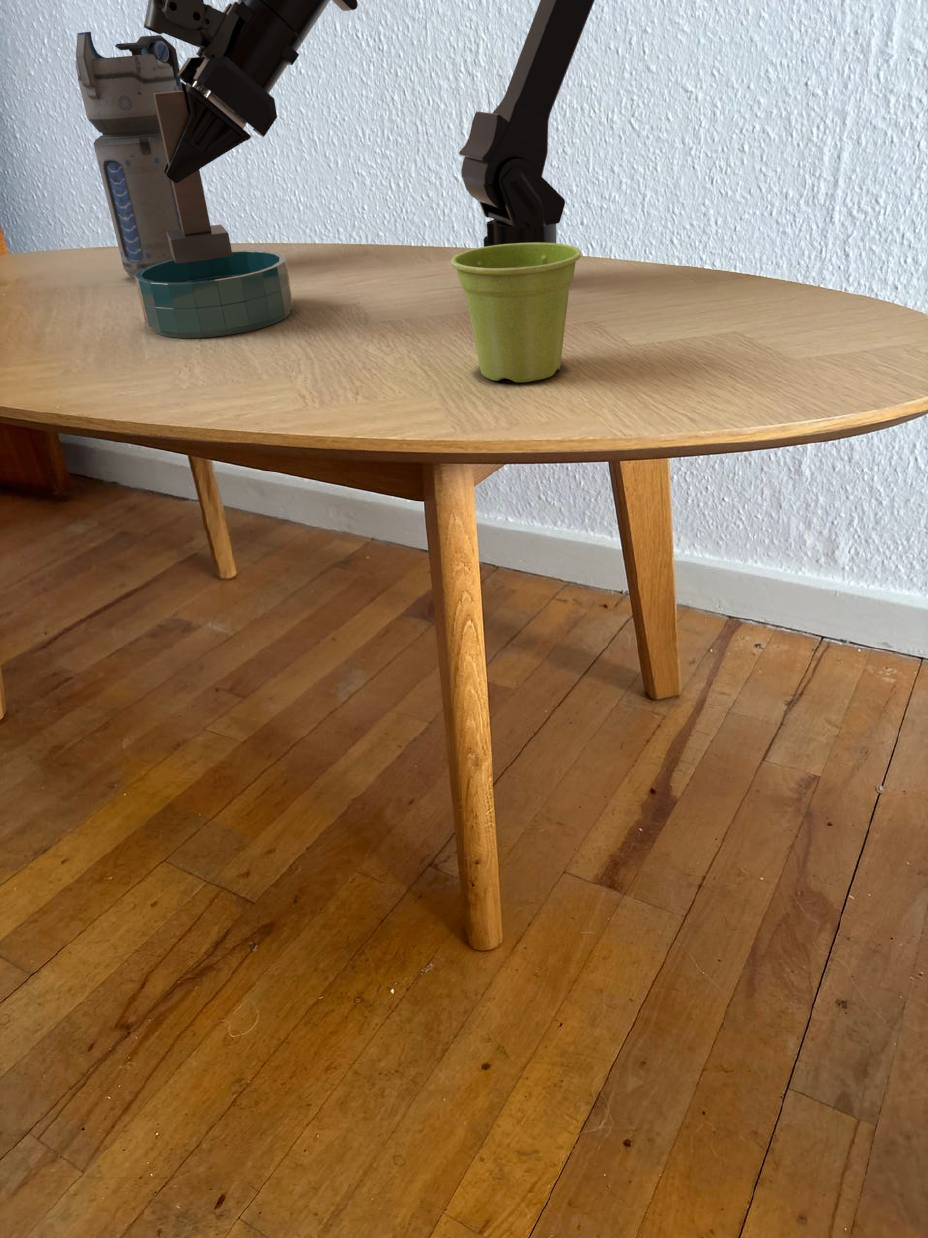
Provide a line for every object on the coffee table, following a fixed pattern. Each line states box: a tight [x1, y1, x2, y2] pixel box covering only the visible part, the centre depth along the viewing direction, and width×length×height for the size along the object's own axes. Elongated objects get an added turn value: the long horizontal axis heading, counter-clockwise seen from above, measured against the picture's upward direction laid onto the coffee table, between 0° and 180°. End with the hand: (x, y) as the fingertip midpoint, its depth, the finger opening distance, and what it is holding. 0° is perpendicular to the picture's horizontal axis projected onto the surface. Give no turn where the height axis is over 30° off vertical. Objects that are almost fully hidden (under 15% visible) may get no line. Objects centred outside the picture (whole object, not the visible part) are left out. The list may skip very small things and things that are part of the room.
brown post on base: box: [153, 90, 233, 264], centre depth 83 cm, size 5×5×13 cm
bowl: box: [134, 249, 294, 339], centre depth 94 cm, size 14×14×5 cm
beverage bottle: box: [75, 31, 182, 279], centre depth 109 cm, size 10×13×25 cm
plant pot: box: [450, 243, 582, 384], centre depth 72 cm, size 9×9×9 cm
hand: (169, 177), depth 83 cm, fingers closed on brown post on base, 2 cm apart
